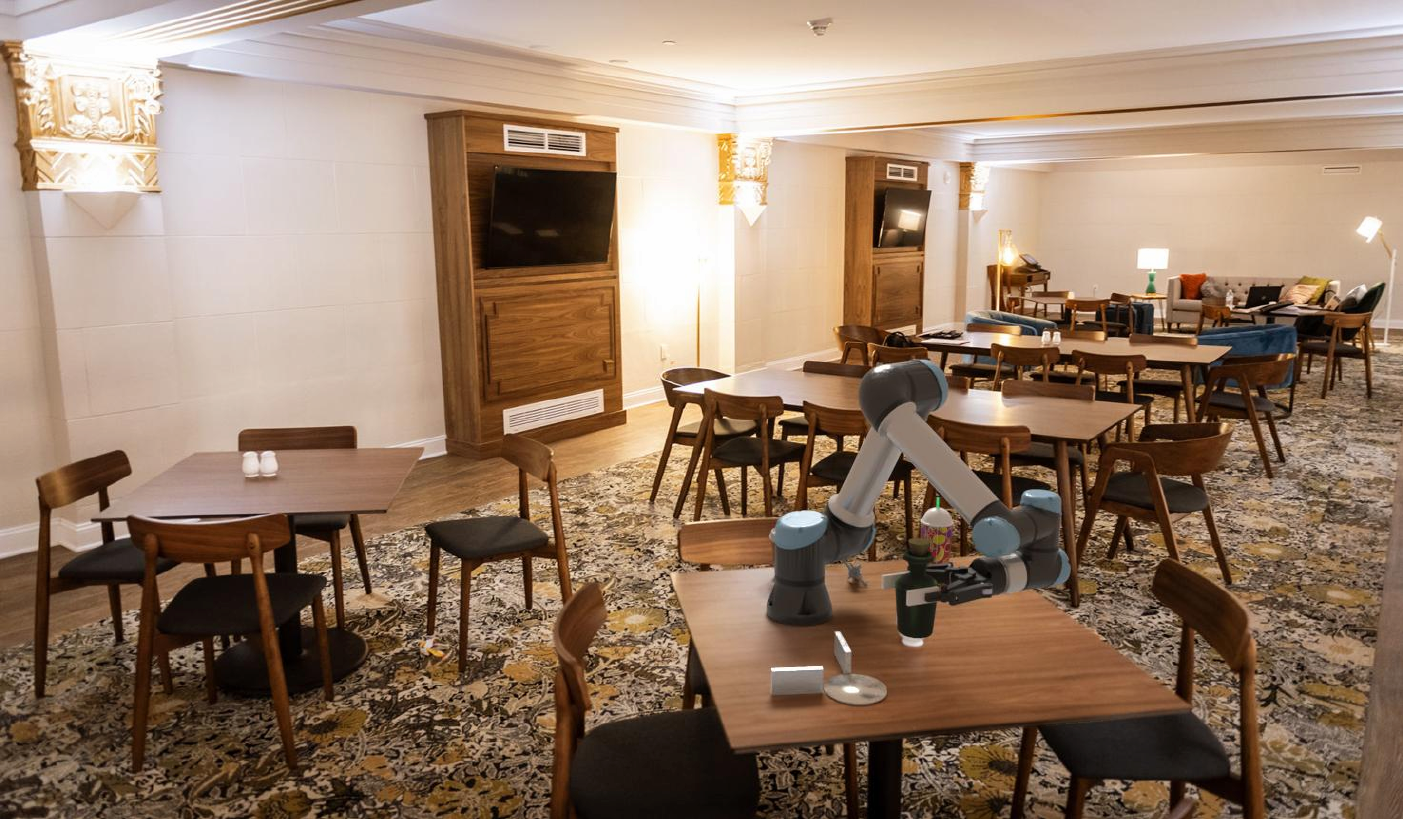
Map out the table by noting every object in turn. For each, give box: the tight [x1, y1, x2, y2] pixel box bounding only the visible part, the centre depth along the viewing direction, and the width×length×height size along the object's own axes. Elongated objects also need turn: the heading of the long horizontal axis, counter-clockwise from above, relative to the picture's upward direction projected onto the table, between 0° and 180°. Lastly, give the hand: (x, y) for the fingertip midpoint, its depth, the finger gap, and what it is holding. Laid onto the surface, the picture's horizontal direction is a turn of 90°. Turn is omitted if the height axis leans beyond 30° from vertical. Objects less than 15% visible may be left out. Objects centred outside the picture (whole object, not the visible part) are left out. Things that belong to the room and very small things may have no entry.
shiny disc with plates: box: [770, 631, 888, 706], centre depth 189 cm, size 19×24×5 cm
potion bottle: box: [894, 537, 940, 639], centre depth 182 cm, size 8×8×18 cm
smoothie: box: [920, 496, 955, 564], centre depth 250 cm, size 8×8×20 cm
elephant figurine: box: [840, 558, 869, 587], centre depth 245 cm, size 10×6×9 cm
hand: (894, 590), depth 180 cm, fingers closed on potion bottle, 8 cm apart
